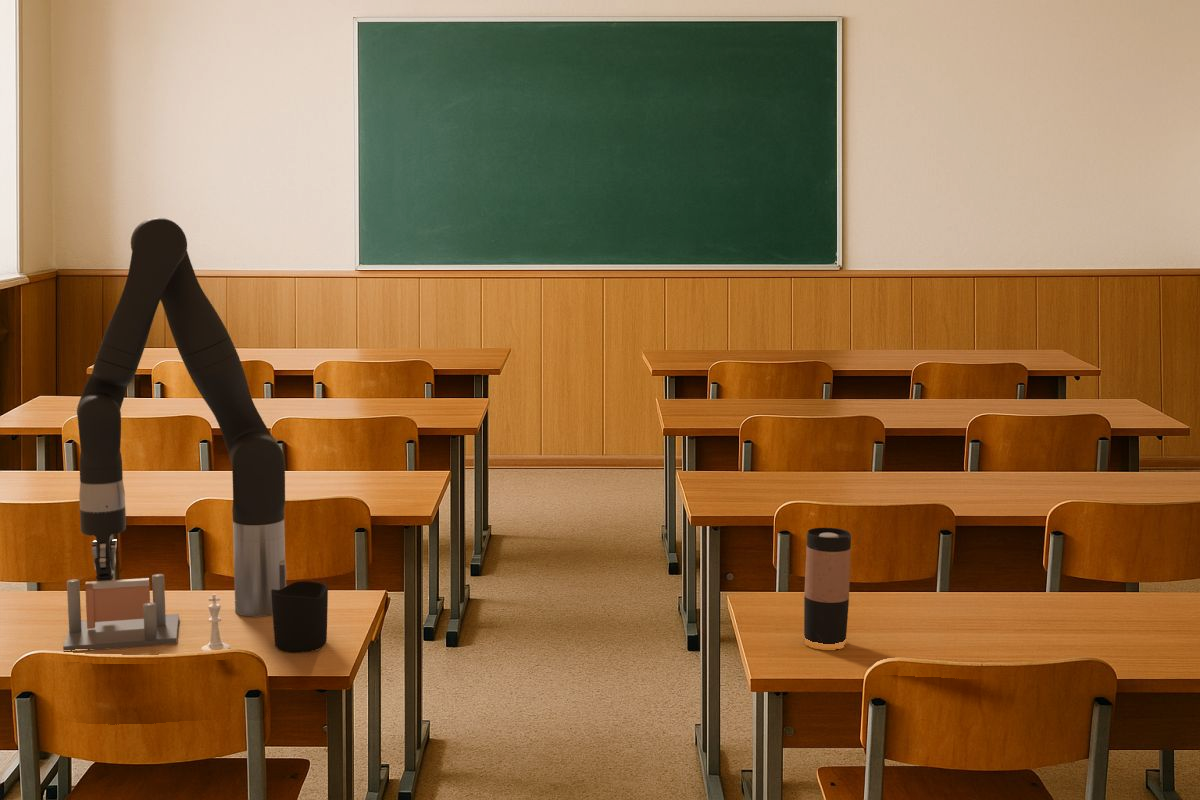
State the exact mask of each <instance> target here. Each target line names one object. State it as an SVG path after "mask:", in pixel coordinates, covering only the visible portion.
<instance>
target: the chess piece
mask: <svg viewBox="0 0 1200 800" xmlns="http://www.w3.org/2000/svg"><path fill="white" fill-rule="evenodd" d="M211 595H212V597H208V601H209V602H212V603H211V604H209V605H208V606H207V608H208V611H209V614H210V617H209V618H208V620H207V621H208V622H209V623H211V630H210V631H211V632H210V641H209V642H208V644H205V645H203V646H202V647H201V648H200V652H201V651H211V650H221V649H231V646H230V644H229V643H225V642H223V640H221V636H220V635H221V634H220V628H219V622H221V621H222V617H219V614H220V610H221V604H219V603H217V602H219V601H220V600H221V599H220V597H217V596H216V595H217V594H216V593H213V594H211Z"/></svg>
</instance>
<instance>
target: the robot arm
mask: <svg viewBox="0 0 1200 800" xmlns="http://www.w3.org/2000/svg"><path fill="white" fill-rule="evenodd" d="M130 248H131V257H130V264H129V268H128V273H127V277H126V280H125V285H124V287H123V290H122V293H121V296H120V298H119V299H118V300H119V301H118V303H117V305H116V307H115V310H114V311H113V314H112V316H111V318H110V320H109V322H108V325H107V327H106V330H105V332H104V334H103V337H102V340H101V343H100V346H99V348H98V351H97V354H96V357H95V360H94V364H93V367H92V372H91V373H90V376H89V378H88V380H87V382H86V385H85V387H84V388H83V391H82V393H81V395H80V399H79V402H78V405H77V407H76V416H77V424H78V425H77V426H78V435H79V447H80V454H79V495H78V496H79V499H78V501H79V517H80V518H79V519H80V521H79V522H80V532H81V534H83V535H85V536H89V537H90V536H94V537H95V538H96V539H95V540H93V541H92V544H91V555H93V568H94V570H95V574H96V581H109V580H115V579H114V577H115V573H114V572H115V567H116V561H117V559H116V557H117V556H116V552H117V548H118V545H117V544H118V543H117V539H113V535H118V534H120V533H123V532H124V531H125V530H126V528H127V519H126V517H127V515H126V514H127V513H126V511H127V510H126V493H125V486H124V476H123V473H124V472H123V458H122V453H121V439H122V414H121V413H122V412H121V410H122V409H121V408H122V405H123V402H124V399H125V397H126V393H127V390H128V387H129V385H130V384H131V382H133V380H134V378H135V376H136V373H137V371H138V367H139V365H140V362H141V359H142V356H143V353H144V351H145V348H146V344H147V341H148V338H149V335H150V332H151V328H152V325H153V322H154V319H155V316H156V315H155V314H156V312H157V309H158V306H159V304H160V302H161V304H162V305H161V306H162V307H163V310H164V313H165V316H166V320H167V323H168V326H169V330H170V333H171V335H172V338H173V340H174V342H175V343H174V344H175V345H176V348H177V351H178V352H179V353H178V354H179V355H180V358H181V360H182V362H183V364H184V366H185V368H186V370H187V373H188V374H189V377H190V379H191V380H192V382H193V384H194V386H195V388H196V389H197V391H198V392H199V395H201V397H202V399H203V400H204V402H205V403H206V405H207V407H208V408H209V409H210V411H211V412H212V414H213V416H214V418H215V420H216V422H217V424H218V427H219V429H220V431H221V435H222V437H223V440H224V444H225V447H226V449H227V452H228V456H229V462H230V465H231V467H232V468H231V469H232V470H231V473H232V496H233V497H232V508H231V509H232V511H231V512H232V536H233V538H232V539H233V570H234V571H233V575H234V577H233V579H234V582H233V583H234V608H235V609H234V610H235V613H236V614H238V615H241V616H245V617H267V616H273V611H272V596H271V590H272V589H275V590H280V589H283V588H284V587H286V586H287V562H286V545H285V544H286V539H285V505H286V466H285V465H286V463H285V456H284V455H285V454H284V452H283V450H282V448H281V446H280V445H279V443H278V442H277V440H276V439H275V438H274V436H273V435H272V434H271V432H270V430H269V429H268V427H267V425H266V423H265V422H264V420H263V418H262V416H261V415H260V413H259V411H258V409H257V408H256V405H255V403H254V401H253V398H252V395H251V393H250V392H251V391H250V387H249V384H248V380H247V377H246V374H245V371H244V366H243V365H242V360H241V359H240V356H239V353H238V352H237V349H236V347H235V345H234V343H233V340H232V338H231V336H230V334H229V332H228V329H227V327H226V326H225V325H224V322H223V321H222V319H221V317H220V316H219V314H218V312H217V311H216V309H215V307H214V305H213V304H212V302H211V301H210V299H209V298H208V296H207V295H206V294H205V292H204V291H203V290H204V289H202V287H201V284H200V282H199V281H198V280H199V279H198V278H197V275H196V272H195V270H194V268H193V263H192V262H191V258H190V255H189V253H188V239H187V236H186V234H185V232H184V230H183V229H182V228H181V226H179V224H177V223H176V222H174V221H173V220H171V219H169V218H165V217H152V218H148V219H146V220H145V219H144V220H143V221H142V222H141V223H139V224H138V225H137V226H136V227H135V228H134V230H133V232H132V234H131V237H130Z"/></svg>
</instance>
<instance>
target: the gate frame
mask: <svg viewBox="0 0 1200 800" xmlns="http://www.w3.org/2000/svg"><path fill="white" fill-rule="evenodd" d="M151 583H152V584H151V586H152V587H151V588H152V602H150V603H146V604H144V605H143V608H144V619H132V620H118V621H104V622H95V628H92V629H87V619H84V620H82V613H81V612H82V608H81V590H80V587H81V586H80V579H73V578H72V579H69V580H66V592H67V597H66V598H67V613H68V614H67V615H68V633H67V635H66V638H65V641H64V643H63V647H62V649H63V650H71V651H72V650H75V649H88V650H87V651H91V650H90V649H100V650H108V649H107V648H111V649H112V648H113V649H125V648H136V647H137V648H138V647H139V648H140V647H148V646H149V647H150V646H151V647H152V646H163V645H176V644H177V641H178V640H177V639H178V631H179V621H180V614H179V613H171V614H168V613H167V614H166V593H165V592H166V591H165V574H162V573H157V574H152V575H151ZM111 649H110V650H111ZM63 650H62V651H63Z"/></svg>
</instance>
